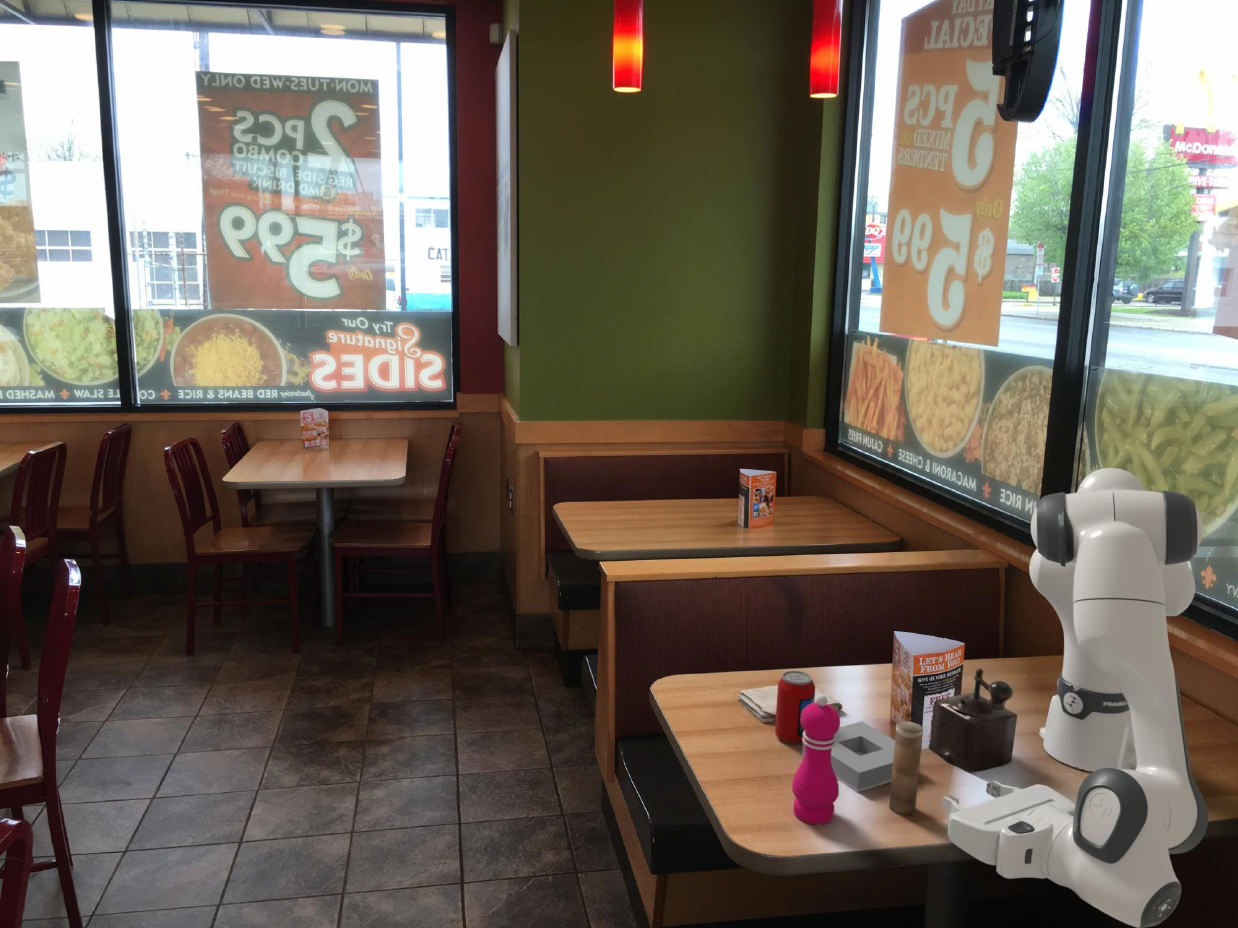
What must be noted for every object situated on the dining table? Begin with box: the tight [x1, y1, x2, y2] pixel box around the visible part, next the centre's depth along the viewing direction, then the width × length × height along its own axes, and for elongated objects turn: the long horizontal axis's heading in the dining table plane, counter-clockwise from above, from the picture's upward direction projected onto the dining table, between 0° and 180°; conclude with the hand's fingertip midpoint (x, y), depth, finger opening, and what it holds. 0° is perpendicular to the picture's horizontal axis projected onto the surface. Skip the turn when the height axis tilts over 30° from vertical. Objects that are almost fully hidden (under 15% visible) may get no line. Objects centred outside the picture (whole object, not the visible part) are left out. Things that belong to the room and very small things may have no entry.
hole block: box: [801, 721, 895, 793], centre depth 167 cm, size 14×14×4 cm
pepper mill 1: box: [791, 695, 841, 825], centre depth 149 cm, size 7×7×20 cm
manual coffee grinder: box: [928, 667, 1018, 773], centre depth 168 cm, size 16×11×18 cm
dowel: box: [888, 721, 924, 816], centre depth 152 cm, size 4×4×14 cm
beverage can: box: [774, 670, 816, 745], centre depth 175 cm, size 7×7×12 cm
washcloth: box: [737, 684, 843, 724], centre depth 189 cm, size 12×18×3 cm, turn 112°
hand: (967, 793), depth 141 cm, fingers open, 8 cm apart
